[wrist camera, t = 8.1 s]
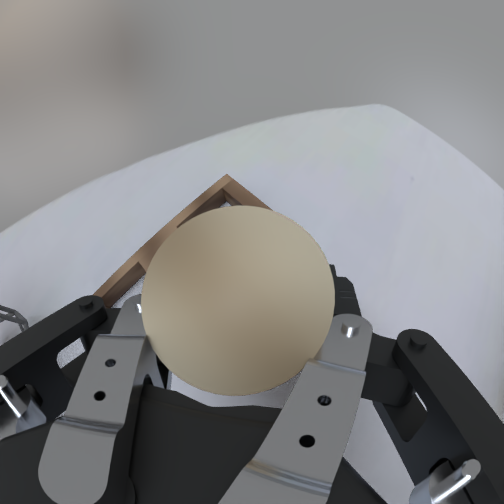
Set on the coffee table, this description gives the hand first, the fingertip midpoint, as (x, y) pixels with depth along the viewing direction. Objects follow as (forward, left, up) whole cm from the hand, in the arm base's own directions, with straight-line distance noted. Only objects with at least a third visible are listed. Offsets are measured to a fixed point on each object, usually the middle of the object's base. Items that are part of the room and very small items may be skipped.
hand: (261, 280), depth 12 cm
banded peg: (+1, +1, -5) cm, 5 cm away
